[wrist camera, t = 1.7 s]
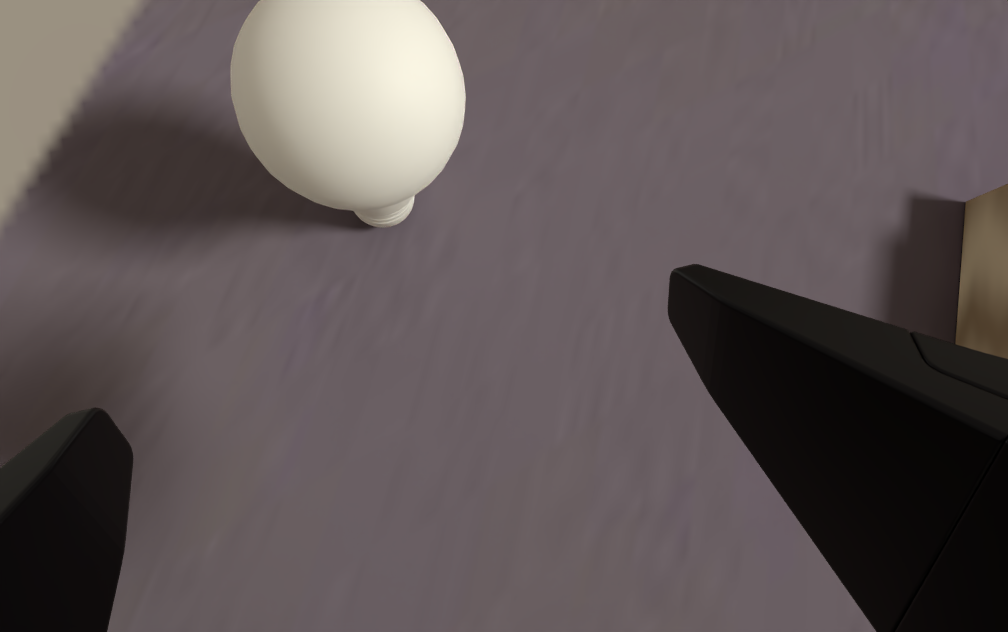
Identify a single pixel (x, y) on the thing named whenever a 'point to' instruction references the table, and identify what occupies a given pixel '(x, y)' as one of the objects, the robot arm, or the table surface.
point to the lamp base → (985, 275)
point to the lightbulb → (349, 100)
